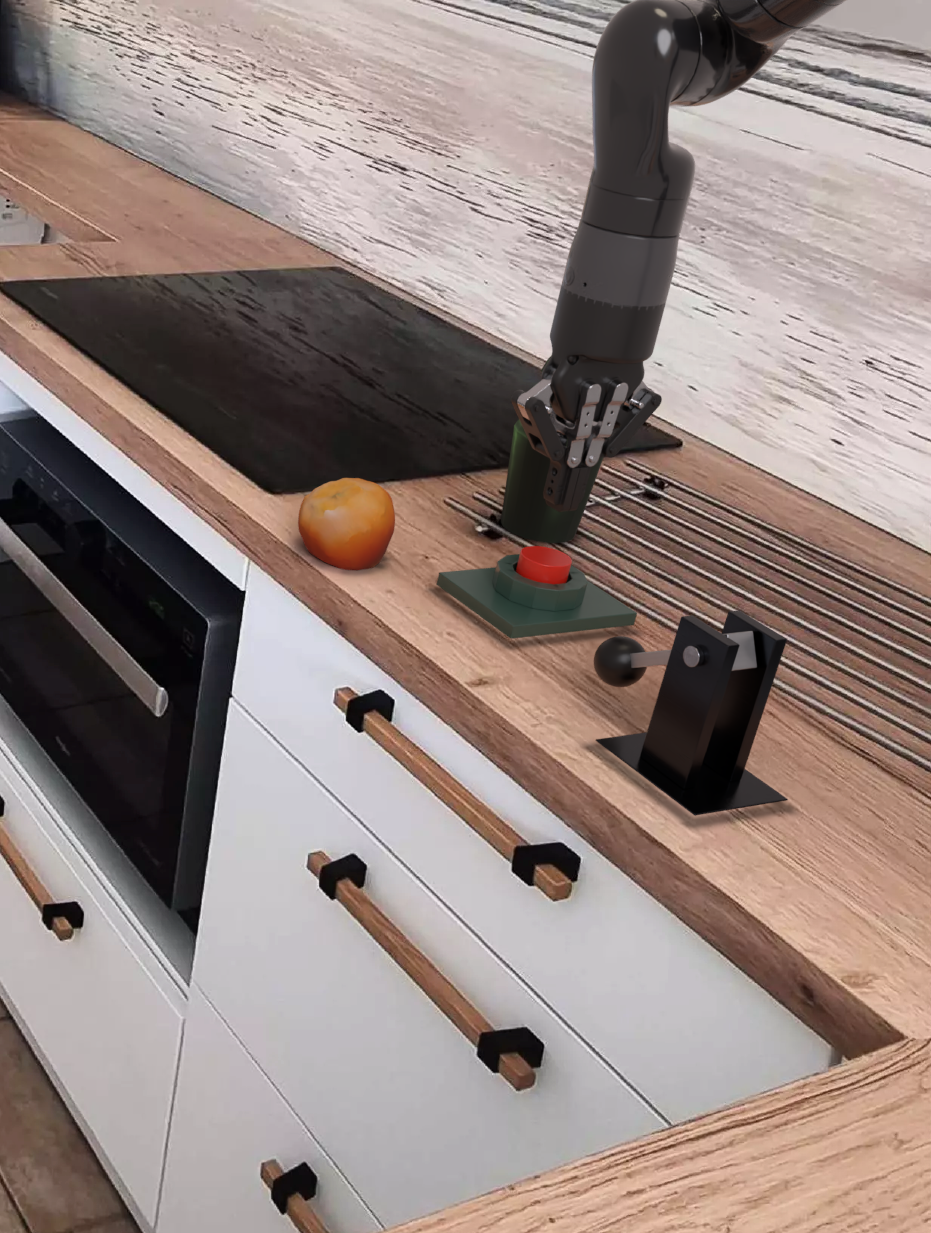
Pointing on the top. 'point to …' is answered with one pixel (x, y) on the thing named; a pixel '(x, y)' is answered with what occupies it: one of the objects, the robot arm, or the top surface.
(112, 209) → the top surface
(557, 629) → the button box
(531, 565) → the button
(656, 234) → the robot arm
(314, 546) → the fruit
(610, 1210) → the top surface
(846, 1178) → the top surface
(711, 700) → the switch bracket
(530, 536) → the potion bottle
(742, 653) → the switch lever
